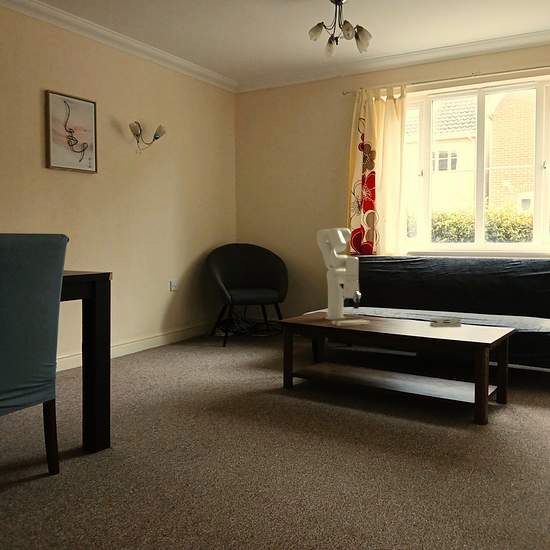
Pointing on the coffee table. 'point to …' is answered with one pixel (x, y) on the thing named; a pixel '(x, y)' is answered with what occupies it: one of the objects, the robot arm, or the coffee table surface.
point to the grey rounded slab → (440, 322)
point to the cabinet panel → (349, 321)
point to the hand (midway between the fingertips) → (351, 307)
